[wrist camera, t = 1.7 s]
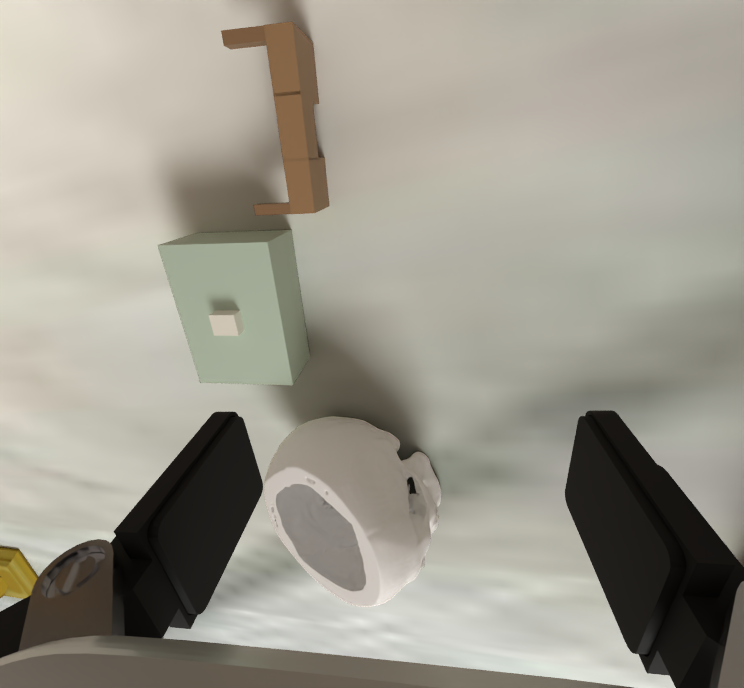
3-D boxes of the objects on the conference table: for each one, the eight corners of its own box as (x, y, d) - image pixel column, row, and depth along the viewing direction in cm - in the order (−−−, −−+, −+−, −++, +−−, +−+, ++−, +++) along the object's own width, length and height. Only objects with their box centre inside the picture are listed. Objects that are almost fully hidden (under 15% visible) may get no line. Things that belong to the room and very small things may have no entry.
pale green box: (196, 233, 37) (148, 248, 30) (291, 229, 35) (261, 245, 29) (228, 355, 43) (193, 389, 37) (310, 356, 41) (288, 392, 35)
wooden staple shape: (251, 49, 29) (220, 30, 25) (313, 43, 28) (292, 21, 24) (277, 208, 34) (255, 215, 30) (329, 206, 34) (314, 213, 29)
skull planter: (411, 542, 51) (335, 661, 34) (327, 427, 56) (225, 482, 39) (486, 496, 45) (439, 612, 28) (385, 372, 50) (294, 408, 33)
